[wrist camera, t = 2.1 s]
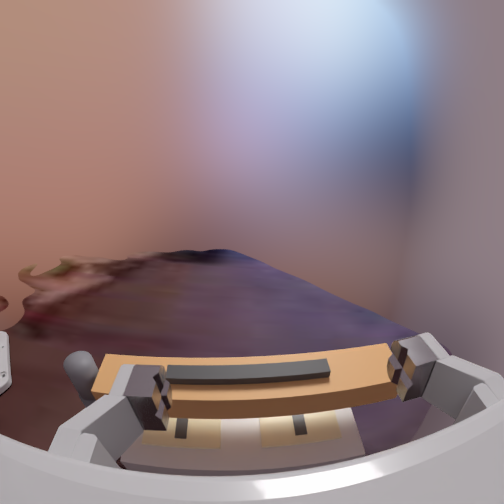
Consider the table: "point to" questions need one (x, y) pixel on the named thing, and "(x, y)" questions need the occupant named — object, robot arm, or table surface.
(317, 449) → the two-drawer filing cabinet
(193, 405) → the light wooden bar
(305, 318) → the table surface
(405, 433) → the table surface
